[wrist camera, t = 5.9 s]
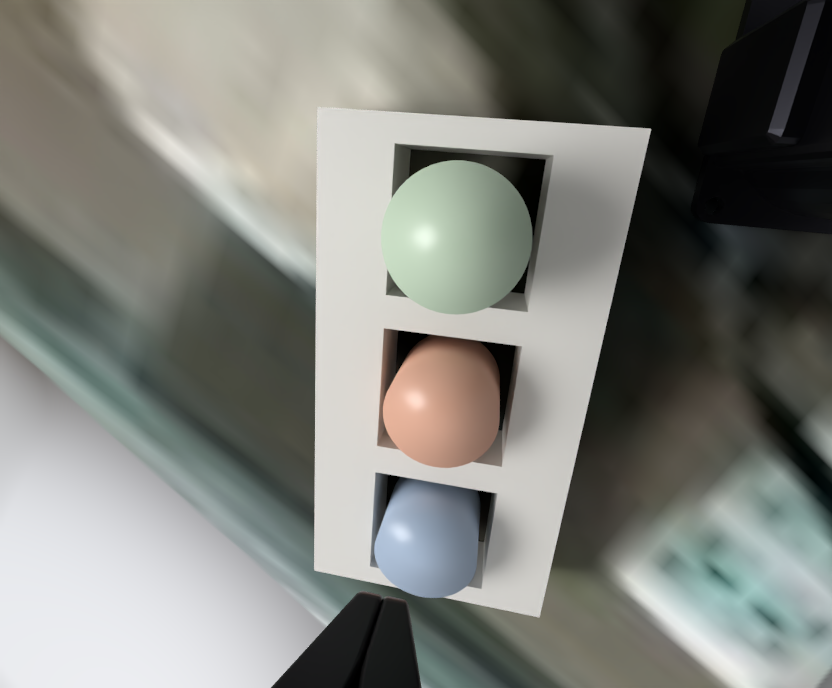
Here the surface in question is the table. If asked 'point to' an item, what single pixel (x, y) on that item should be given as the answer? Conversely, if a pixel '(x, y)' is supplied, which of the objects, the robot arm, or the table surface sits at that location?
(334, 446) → the panel
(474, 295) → the sage button
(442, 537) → the slate button
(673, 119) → the table surface
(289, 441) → the table surface
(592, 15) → the table surface
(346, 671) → the robot arm
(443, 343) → the terracotta button
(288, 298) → the table surface
